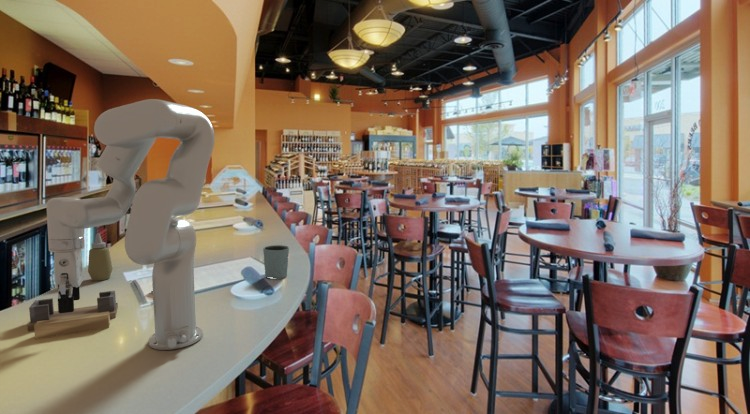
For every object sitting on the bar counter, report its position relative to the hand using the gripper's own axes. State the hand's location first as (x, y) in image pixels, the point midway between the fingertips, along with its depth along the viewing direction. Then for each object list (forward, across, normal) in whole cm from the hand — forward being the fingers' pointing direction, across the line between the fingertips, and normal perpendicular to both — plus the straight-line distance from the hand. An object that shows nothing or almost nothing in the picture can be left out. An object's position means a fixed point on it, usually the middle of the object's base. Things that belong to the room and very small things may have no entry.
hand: (69, 306), depth 108 cm
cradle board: (+7, +10, 0) cm, 13 cm away
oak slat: (+7, -1, -1) cm, 7 cm away
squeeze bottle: (+8, +55, -2) cm, 56 cm away
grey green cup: (+6, +26, -64) cm, 69 cm away
